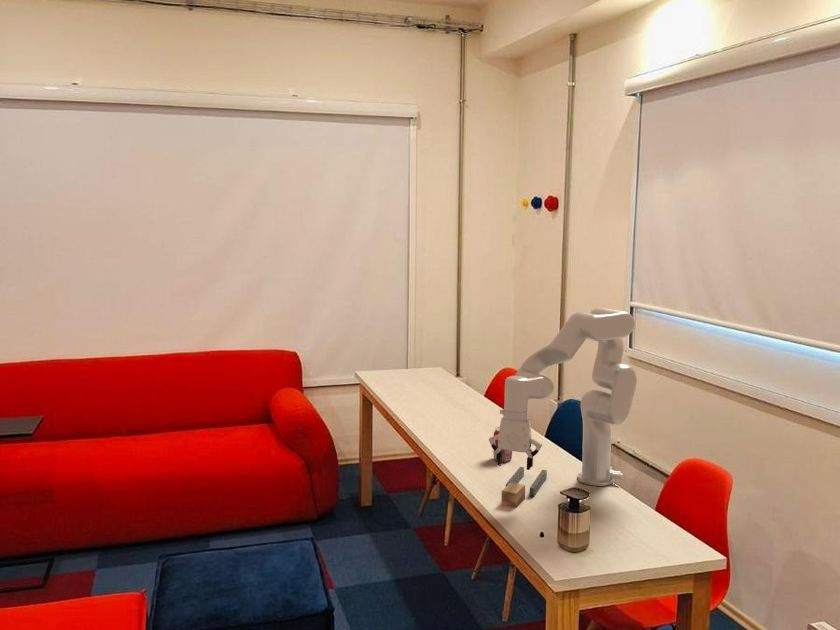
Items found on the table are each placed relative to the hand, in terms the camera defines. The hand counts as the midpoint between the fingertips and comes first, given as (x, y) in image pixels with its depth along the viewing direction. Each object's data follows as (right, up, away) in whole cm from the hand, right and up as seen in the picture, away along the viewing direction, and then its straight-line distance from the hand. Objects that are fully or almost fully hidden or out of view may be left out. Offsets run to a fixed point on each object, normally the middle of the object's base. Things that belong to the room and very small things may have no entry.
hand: (514, 466), depth 241 cm
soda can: (+1, -6, +41) cm, 41 cm away
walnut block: (0, -12, +1) cm, 12 cm away
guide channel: (+6, -10, +15) cm, 19 cm away
